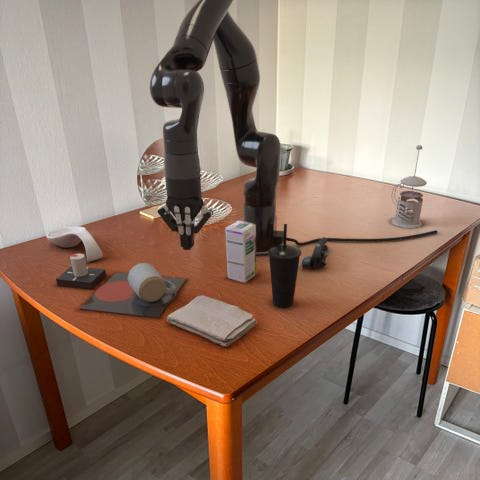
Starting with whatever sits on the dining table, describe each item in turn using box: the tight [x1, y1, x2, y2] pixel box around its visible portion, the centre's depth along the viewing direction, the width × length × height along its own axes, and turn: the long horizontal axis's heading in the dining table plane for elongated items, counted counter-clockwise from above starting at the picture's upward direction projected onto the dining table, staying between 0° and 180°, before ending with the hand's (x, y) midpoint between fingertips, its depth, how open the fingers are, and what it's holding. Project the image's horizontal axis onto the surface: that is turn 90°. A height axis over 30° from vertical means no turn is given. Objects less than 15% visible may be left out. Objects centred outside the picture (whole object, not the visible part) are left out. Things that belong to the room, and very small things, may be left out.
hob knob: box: [69, 253, 88, 277], centre depth 128 cm, size 4×4×5 cm
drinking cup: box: [267, 223, 302, 309], centre depth 114 cm, size 8×8×20 cm
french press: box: [391, 144, 428, 229], centre depth 158 cm, size 10×12×25 cm
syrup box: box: [224, 220, 257, 284], centre depth 128 cm, size 6×6×14 cm
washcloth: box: [166, 295, 258, 348], centre depth 110 cm, size 12×18×3 cm, turn 54°
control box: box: [55, 265, 107, 290], centre depth 130 cm, size 10×8×2 cm
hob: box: [79, 271, 187, 319], centre depth 124 cm, size 21×20×1 cm
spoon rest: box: [45, 225, 103, 263], centre depth 147 cm, size 24×12×7 cm, turn 43°
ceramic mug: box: [127, 262, 176, 302], centre depth 121 cm, size 11×8×8 cm
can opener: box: [301, 236, 329, 269], centre depth 139 cm, size 18×7×6 cm, turn 160°
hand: (187, 248), depth 114 cm, fingers closed
